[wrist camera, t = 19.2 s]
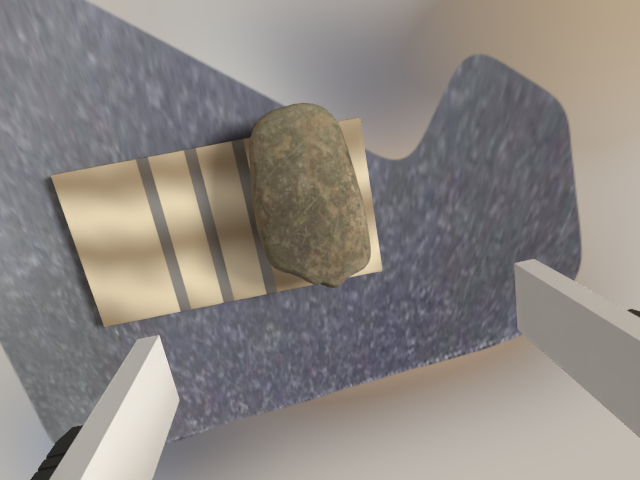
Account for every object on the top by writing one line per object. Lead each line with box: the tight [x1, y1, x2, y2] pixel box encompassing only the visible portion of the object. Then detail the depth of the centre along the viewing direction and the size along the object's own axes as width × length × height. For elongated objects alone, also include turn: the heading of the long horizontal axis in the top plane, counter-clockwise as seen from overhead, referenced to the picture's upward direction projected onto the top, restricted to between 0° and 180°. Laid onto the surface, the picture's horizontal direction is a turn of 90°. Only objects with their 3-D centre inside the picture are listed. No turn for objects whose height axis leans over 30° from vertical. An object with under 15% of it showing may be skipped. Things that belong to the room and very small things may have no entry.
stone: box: [249, 103, 371, 288], centre depth 36 cm, size 9×14×10 cm, turn 12°
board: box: [51, 118, 382, 327], centre depth 39 cm, size 14×26×1 cm, turn 100°
